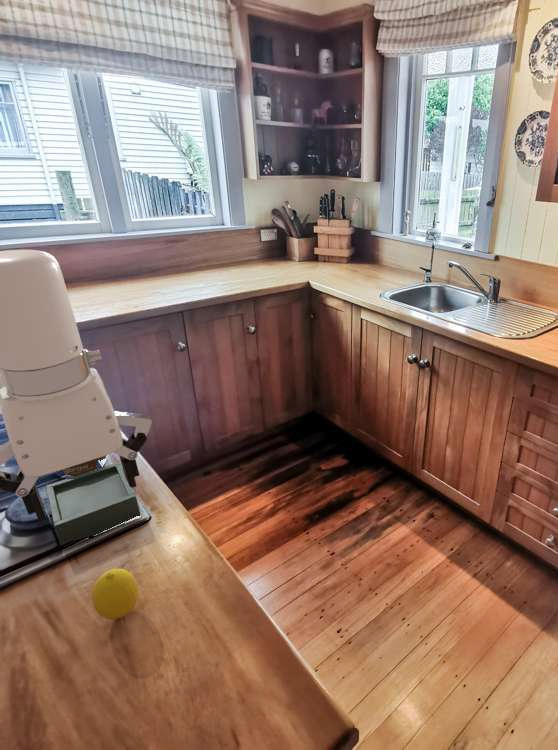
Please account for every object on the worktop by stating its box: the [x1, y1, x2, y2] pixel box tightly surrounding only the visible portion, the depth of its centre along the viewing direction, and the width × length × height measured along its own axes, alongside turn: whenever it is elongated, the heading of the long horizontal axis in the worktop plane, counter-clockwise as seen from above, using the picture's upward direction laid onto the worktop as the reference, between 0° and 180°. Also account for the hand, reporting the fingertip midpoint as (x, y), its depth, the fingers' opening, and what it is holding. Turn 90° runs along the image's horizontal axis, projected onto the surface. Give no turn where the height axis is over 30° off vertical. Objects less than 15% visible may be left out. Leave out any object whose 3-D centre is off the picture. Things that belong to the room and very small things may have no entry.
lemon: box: [91, 568, 140, 620], centre depth 64 cm, size 6×6×8 cm
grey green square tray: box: [45, 461, 142, 545], centre depth 82 cm, size 12×12×5 cm
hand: (88, 497), depth 57 cm, fingers open, 9 cm apart
